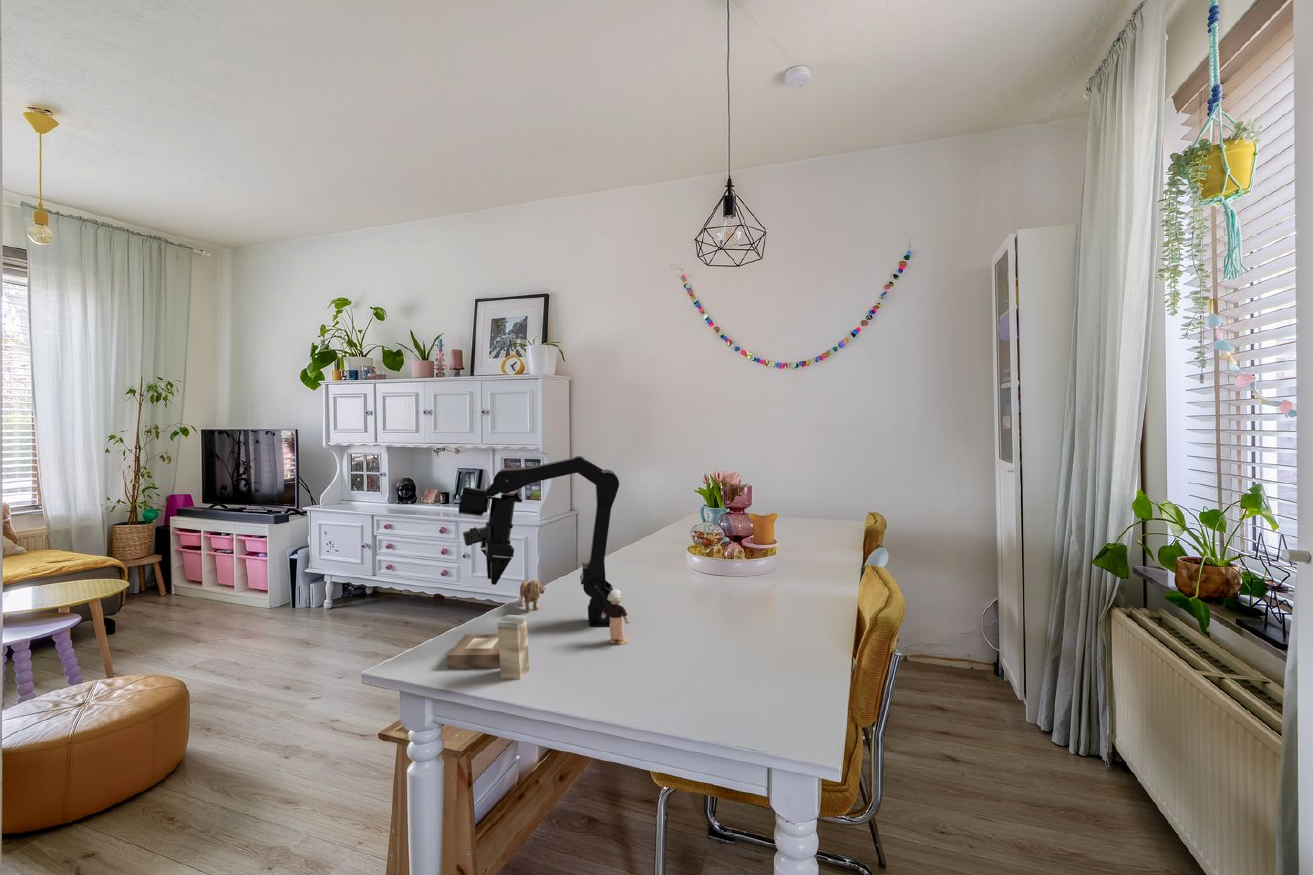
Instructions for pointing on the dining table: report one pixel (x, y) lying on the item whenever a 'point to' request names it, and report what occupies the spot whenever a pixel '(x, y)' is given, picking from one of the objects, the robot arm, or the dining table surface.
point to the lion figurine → (530, 593)
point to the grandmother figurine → (616, 617)
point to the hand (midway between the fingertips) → (491, 581)
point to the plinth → (475, 652)
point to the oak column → (513, 646)
